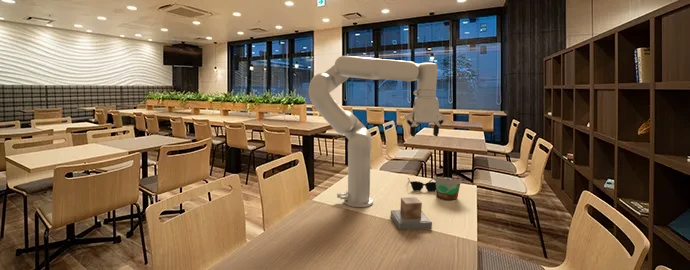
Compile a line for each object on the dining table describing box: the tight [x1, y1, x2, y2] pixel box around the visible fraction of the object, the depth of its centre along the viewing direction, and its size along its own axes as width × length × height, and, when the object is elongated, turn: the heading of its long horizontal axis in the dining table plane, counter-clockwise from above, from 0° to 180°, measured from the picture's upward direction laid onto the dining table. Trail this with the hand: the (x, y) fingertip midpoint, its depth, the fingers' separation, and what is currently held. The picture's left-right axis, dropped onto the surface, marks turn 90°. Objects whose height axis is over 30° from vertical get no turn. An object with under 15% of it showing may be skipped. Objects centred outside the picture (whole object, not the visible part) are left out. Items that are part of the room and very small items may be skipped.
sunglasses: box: [407, 177, 436, 192], centre depth 166 cm, size 14×16×5 cm
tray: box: [390, 209, 433, 231], centre depth 123 cm, size 12×12×3 cm
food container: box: [433, 174, 463, 202], centre depth 147 cm, size 12×6×10 cm, turn 62°
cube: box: [399, 196, 423, 219], centre depth 123 cm, size 6×6×6 cm
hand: (424, 135), depth 135 cm, fingers open, 9 cm apart
